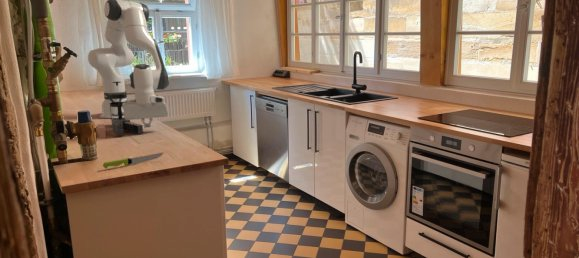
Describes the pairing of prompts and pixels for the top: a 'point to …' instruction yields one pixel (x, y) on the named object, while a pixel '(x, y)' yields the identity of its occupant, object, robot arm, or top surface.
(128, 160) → the kitchen knife
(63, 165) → the top surface
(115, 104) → the french press
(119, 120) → the tongs base
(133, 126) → the tongs arm
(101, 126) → the lock clip
